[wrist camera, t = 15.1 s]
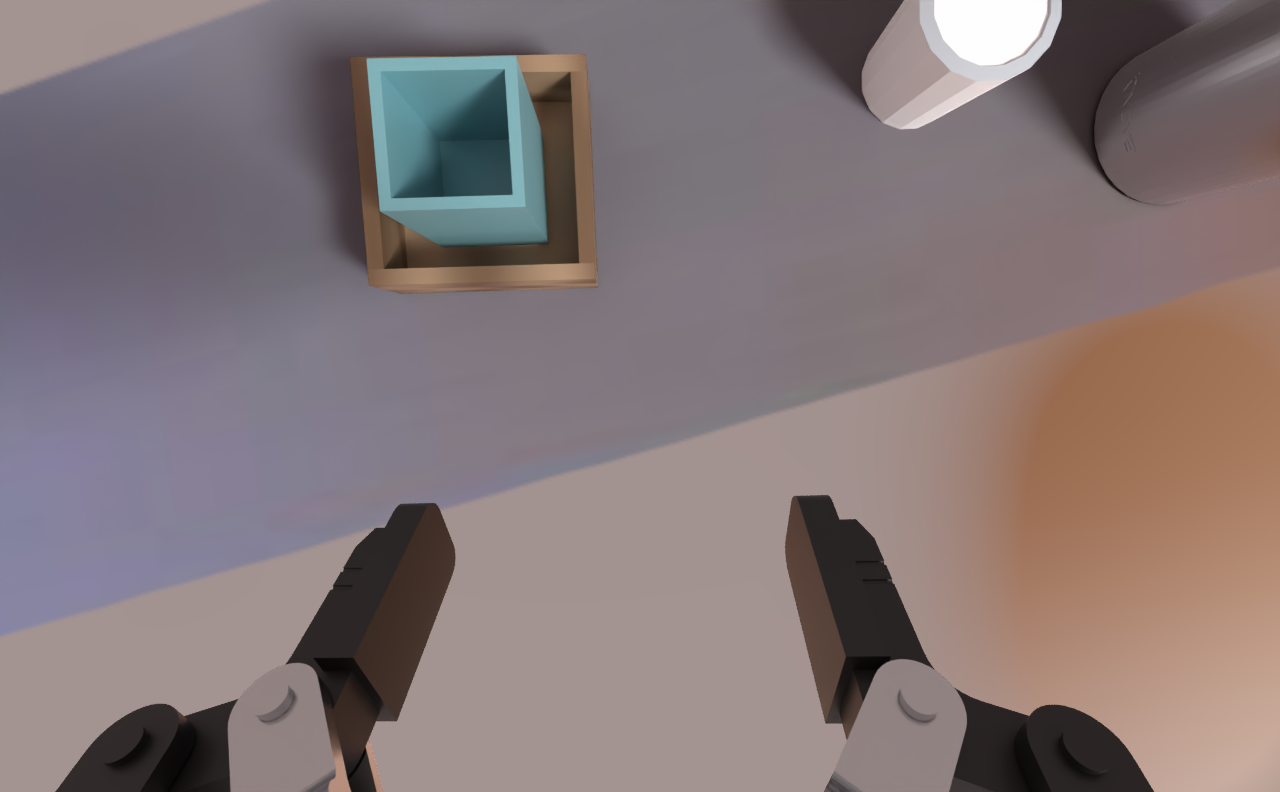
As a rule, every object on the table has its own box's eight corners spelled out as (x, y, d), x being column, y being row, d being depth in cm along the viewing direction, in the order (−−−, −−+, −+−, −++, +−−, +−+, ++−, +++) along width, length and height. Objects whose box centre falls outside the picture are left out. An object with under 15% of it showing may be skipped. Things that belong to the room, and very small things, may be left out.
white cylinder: (952, 149, 31) (1048, 92, 24) (841, 130, 31) (907, 67, 24) (974, 29, 31) (1079, -65, 24) (861, 8, 30) (935, -93, 23)
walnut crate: (589, 93, 30) (585, 54, 26) (598, 287, 31) (595, 278, 27) (385, 96, 29) (349, 56, 25) (401, 293, 30) (368, 285, 27)
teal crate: (542, 134, 29) (516, 55, 21) (549, 244, 30) (525, 206, 22) (434, 137, 29) (366, 58, 21) (443, 247, 30) (379, 211, 22)
